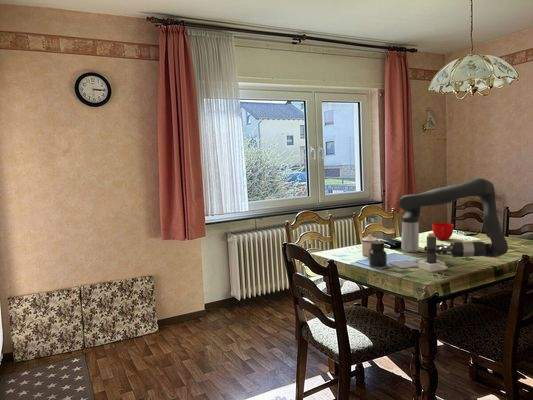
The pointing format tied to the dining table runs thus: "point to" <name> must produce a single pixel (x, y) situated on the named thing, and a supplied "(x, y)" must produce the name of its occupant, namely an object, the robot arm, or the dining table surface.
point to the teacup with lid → (367, 244)
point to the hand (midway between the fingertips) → (425, 249)
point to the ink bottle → (377, 254)
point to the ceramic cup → (442, 230)
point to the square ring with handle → (431, 265)
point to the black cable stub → (431, 245)
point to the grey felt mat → (404, 264)
